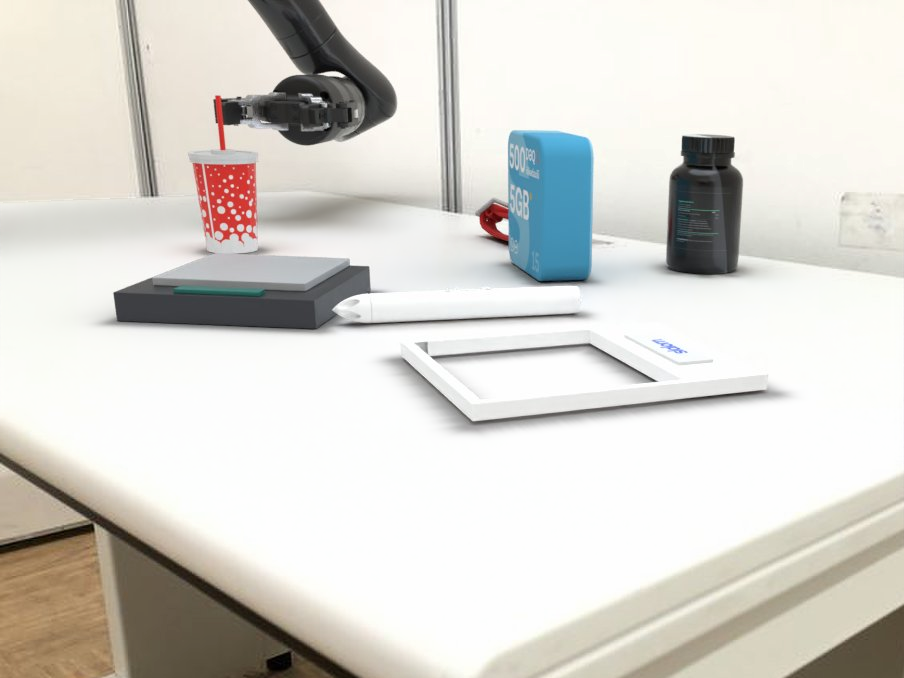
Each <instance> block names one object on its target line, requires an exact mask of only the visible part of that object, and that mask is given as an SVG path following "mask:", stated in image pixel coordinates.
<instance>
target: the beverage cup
mask: <svg viewBox="0 0 904 678" xmlns="http://www.w3.org/2000/svg"><path fill="white" fill-rule="evenodd" d="M214 97H215V98H214V99H215V100H216V110H217V120H218V123H217V127H218V128H217V130H218V131H217V132H218V140H219V148H213V149H209V150H208V149H205V150H194V151H193V150H192V151H188V152H187V156H188V157H189V162H190V163H192V168H193V169H192V170H193V175H194V181H195V187H196V192H197V193H196V194H197V198H198V204H199V210H200V217H201V222H202V228H203V234H204V240H205V246H206V251H207V252H209V253H211V254H214V253H224V254H248V253H254V252H257V251H258V250H259V234H258V233H259V232H258V231H259V230H258V194H257V193H258V191H257V164H256V163H259V159H258V158H259V152H256V151H251V150H236V149H232V148H227V147H226V137H225V127H224V126H225V125H223V116H222V105H221V98H222V96H221V95H220V94H219V95H217V94H215V95H214Z"/></svg>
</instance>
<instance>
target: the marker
mask: <svg viewBox="0 0 904 678" xmlns="http://www.w3.org/2000/svg"><path fill="white" fill-rule="evenodd" d="M581 299H582V297H581V291H580V288H579V286H577V285H553V286H523V287H506V288H505V287H504V288H503V287H501V288H499V287H498V288H491V287H490V286H484V287H483V285H481V287H480V288H465V289H464V288H462V286H460V288H458V287H453V289H449V288H448V287H446V288H445V289H444V290H423V291H422V290H421V291H404V292H403V291H400V292H399V291H398V292H374V293H373V292H372V293H371V292H368V293H367V294H360V295H355V296H352V297H350V298H347V299H345V300H343V301H342V302H340V303H339V304H337V305H336V306H335V307H334V308H333V309H332V310H333V311H334V312H335V313H336V315H338V316H340V317H342V318H344V319H347V320H349V321H351V322H356V323H359V324H380V323H382V324H383V323H400V322H401V323H402V322H403V323H405V322H423V321H443V320H447V321H448V320H464V319H466V320H468V319H486V318H488V319H489V318H507V317H508V318H510V317H527V316H528V317H529V316H549V315H551V316H552V315H569V314H570V315H571V314H577V313H579V312H580V311H581V306H582V301H581Z"/></svg>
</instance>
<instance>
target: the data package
mask: <svg viewBox="0 0 904 678" xmlns="http://www.w3.org/2000/svg"><path fill="white" fill-rule="evenodd" d="M594 159H595V157H594V148H593V144H592V141H591V139H590V138H589V137H586V136H582V135H578V134H573V133H569V132H564V131H561V130H536V129H535V130H534V129H533V130H531V129H530V130H529V129H528V130H527V129H523V130H522V129H513V130H511V131H510V133H509V135H508V139H507V183H508V184H507V197H508V198H507V199H508V201H507V203H508V208H507V209H508V217H509V220H508V236H509V242H508V253H509V258H510V261H511V262H512V264H513V265H515V266H517V267H518V268H519V269H520V270H522V271H524V272H525V273H526V274H529V276H531V277H532V278H534V279H535V280H537V281H539V282H550V281H551V282H557V281H585V280H586V281H587V279H589V278H590V276H591V272H592V267H593V266H592V265H593V220H594V219H593V217H594V216H593V214H594V211H593V210H594V209H593V208H594V162H595V161H594Z"/></svg>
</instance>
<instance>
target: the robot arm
mask: <svg viewBox="0 0 904 678" xmlns="http://www.w3.org/2000/svg"><path fill="white" fill-rule="evenodd" d="M247 1H248V3H249V4H250V5H251V7H252V8H253V10H254V11H255V12H256V14H257V15H258V16H259V17H260V19H261V20H262V22H263V23H264V24H265V25H266V27H267V28H268V30H269V31H270V33H271V34H272V35H273V38H275V40H276V41H277V42H278V44H279V45H280V46H281V48H282V49H283V51H284V52H285V54H286V55H287V57H288V58H289V59H290V61H291V62H292V64H293V65H294V66H295V68H296V69H297V70H298V71H299V72H300V73H301V74H294V75H289V76H287V77H285V78H283V79H282V80H281V81H280V82H278V83H277V84H276V86H275V87H274V89H273V90H272V92H271V91H270V92H269V93H268V94H247V95H246V96H245V97H242V96H236V97H227V98H222V97H221V105H222V116H223V126H234V127H239V126H240V125H247V126H248V128H251V129H254V130H255V129H257V130H265V129H266V130H267V129H268V130H269V129H272V130H273V131H277V132H278V134H280V135H281V136H282V137H283V138H284V139H286V140H287V141H288V142H292V143H293V144H296V145H298V146H307V147H308V146H314V145H319V144H323V143H327V142H332V141H335V142H338V143H343V142H347V141H349V140H351V139H353V138H356V137H358V136H360V135H362V134H363V133H365V132H367V131H369V130H371V129H373V128H376V127H377V126H379V125H381V124H384V123H385V122H386V121H389V120H390V119H391V118H393V117H394V116H395V114H397V113H396V112H397V110H398V97H397V92H396V90H395V88H394V86H393V84H392V83H391V81H390V80H389V79H388V77H387V76H386V75H385V74H384V73H383V72H382V71H381V70H380V69H379V68H377V66H376V65H374V64H373V63H372V62H371V61H370V60H368V59H367V58H366V57H365V56H364V55H363V54H362V53H361V52H360V51H359V50H357V48H356V47H355V46H354V45H353V44H352V43H350V41H349V40H348V39H347V38H346V37H345V36H344V34H343V33H342V32H341V31H340V29H339V28H338V26H337V25H336V23H335V22H334V20H333V19H332V17H331V16H330V14H329V13H328V11H327V9H326V8H325V7H324V5H323V4H322V2H321V1H320V0H247ZM332 72H335V73H339V74H341V75H343V76H342V77H341V76H337V75H336V76H335V75H325V73H332ZM212 100H213V110H214V120H215V124H218V120H217V110H216V100H215V98H213V99H212Z"/></svg>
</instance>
